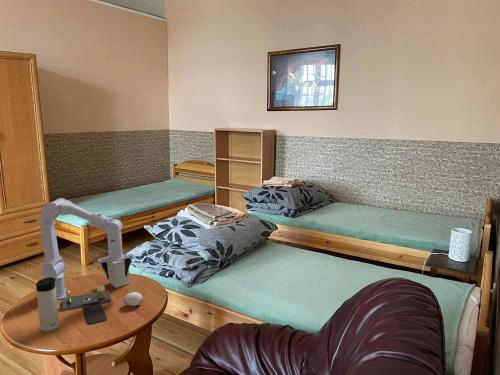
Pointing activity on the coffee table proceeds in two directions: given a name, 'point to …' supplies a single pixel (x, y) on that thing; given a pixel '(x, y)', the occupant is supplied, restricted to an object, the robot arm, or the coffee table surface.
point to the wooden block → (101, 292)
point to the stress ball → (133, 299)
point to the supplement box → (118, 274)
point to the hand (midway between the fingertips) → (117, 276)
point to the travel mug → (47, 305)
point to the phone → (94, 314)
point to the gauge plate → (83, 300)
